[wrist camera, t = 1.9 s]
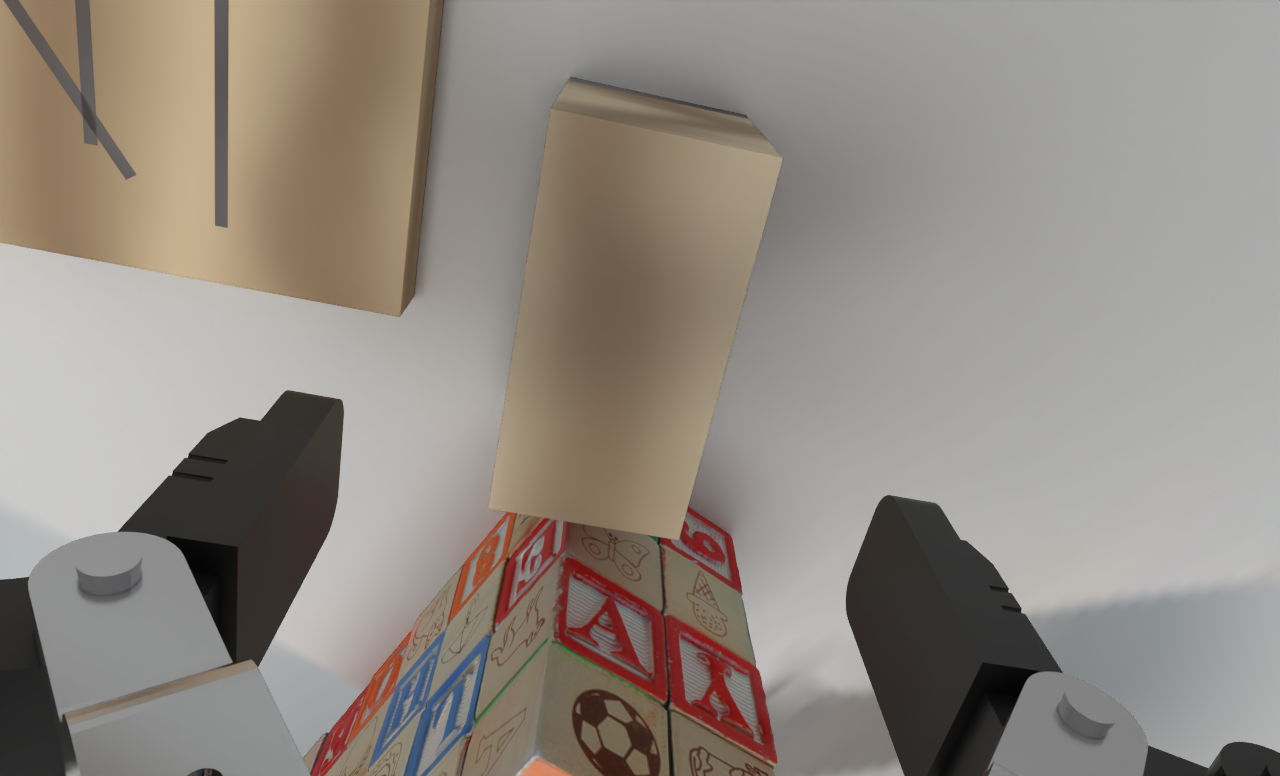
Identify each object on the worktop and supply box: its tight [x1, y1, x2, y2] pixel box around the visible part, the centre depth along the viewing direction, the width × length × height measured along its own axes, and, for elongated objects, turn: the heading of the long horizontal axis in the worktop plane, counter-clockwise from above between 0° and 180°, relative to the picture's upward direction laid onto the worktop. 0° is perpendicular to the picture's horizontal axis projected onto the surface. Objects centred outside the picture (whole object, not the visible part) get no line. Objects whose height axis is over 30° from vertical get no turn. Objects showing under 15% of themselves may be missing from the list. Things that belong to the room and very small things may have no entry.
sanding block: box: [488, 77, 783, 540], centre depth 21 cm, size 4×9×6 cm, turn 168°
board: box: [0, 0, 444, 317], centre depth 20 cm, size 15×10×2 cm, turn 78°
